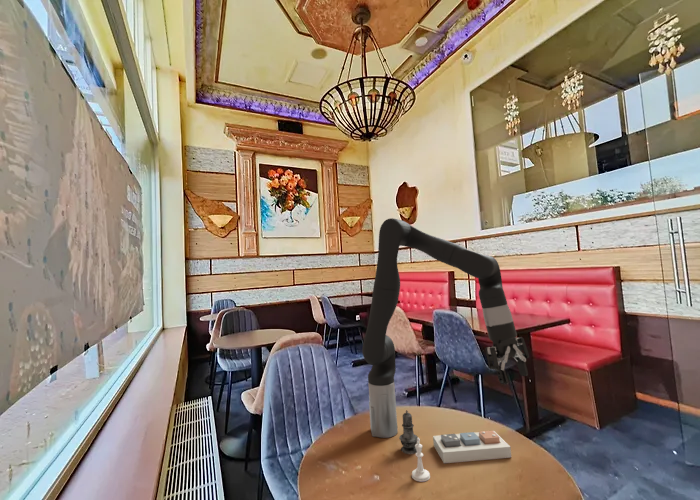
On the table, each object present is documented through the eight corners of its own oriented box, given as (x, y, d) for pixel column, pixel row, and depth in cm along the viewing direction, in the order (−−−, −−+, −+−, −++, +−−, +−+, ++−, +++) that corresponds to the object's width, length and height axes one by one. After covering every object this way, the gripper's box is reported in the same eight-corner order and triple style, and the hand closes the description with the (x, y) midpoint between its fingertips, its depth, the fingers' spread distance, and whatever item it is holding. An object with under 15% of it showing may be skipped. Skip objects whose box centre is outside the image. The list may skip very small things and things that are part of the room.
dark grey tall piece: (419, 455, 101) (416, 414, 102) (399, 454, 102) (396, 413, 103) (419, 445, 107) (416, 406, 108) (400, 444, 108) (397, 406, 109)
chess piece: (431, 472, 92) (428, 435, 93) (428, 483, 87) (425, 443, 88) (414, 469, 94) (411, 432, 95) (409, 479, 89) (406, 440, 90)
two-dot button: (485, 447, 100) (484, 437, 100) (479, 439, 104) (478, 430, 104) (500, 445, 100) (499, 436, 100) (493, 438, 104) (492, 429, 104)
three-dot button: (446, 450, 99) (445, 441, 99) (441, 443, 103) (440, 434, 104) (460, 449, 99) (460, 439, 99) (455, 442, 104) (454, 433, 104)
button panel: (443, 463, 96) (443, 452, 96) (433, 445, 106) (432, 436, 106) (511, 457, 97) (510, 446, 97) (495, 440, 107) (494, 430, 107)
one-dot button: (466, 448, 99) (465, 439, 100) (460, 441, 104) (459, 432, 104) (480, 447, 100) (479, 438, 100) (474, 440, 104) (473, 431, 104)
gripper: (504, 318, 103) (519, 372, 100) (471, 327, 97) (486, 385, 94) (526, 316, 97) (542, 374, 94) (492, 326, 90) (509, 388, 87)
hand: (514, 379), depth 94 cm, fingers open, 8 cm apart
